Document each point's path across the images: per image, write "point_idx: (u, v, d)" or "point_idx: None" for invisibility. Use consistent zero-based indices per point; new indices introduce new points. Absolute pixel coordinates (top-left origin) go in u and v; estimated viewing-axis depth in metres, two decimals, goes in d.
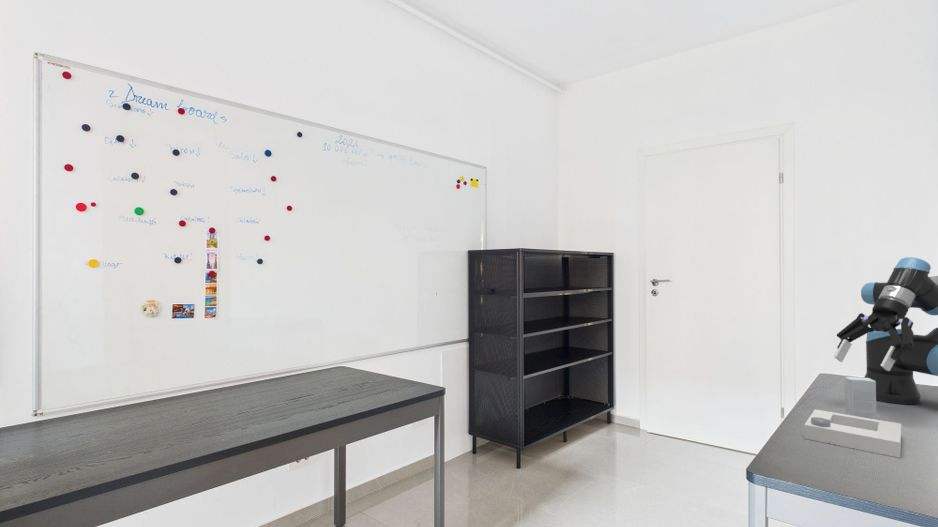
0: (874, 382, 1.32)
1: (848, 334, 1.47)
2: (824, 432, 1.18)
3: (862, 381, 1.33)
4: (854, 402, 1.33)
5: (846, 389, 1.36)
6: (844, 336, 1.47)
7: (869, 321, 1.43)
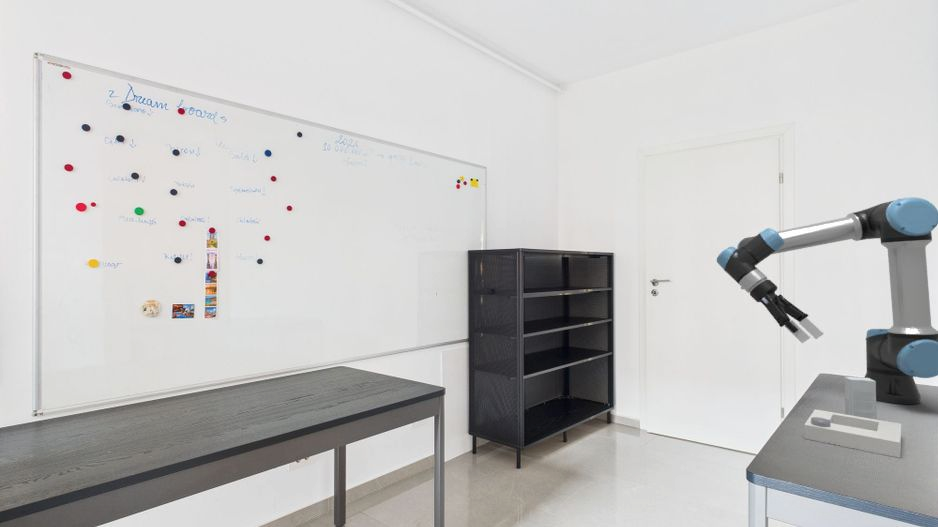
0: (874, 382, 1.32)
1: (794, 317, 1.53)
2: (824, 432, 1.18)
3: (862, 381, 1.33)
4: (854, 402, 1.33)
5: (846, 389, 1.36)
6: (797, 320, 1.53)
7: None
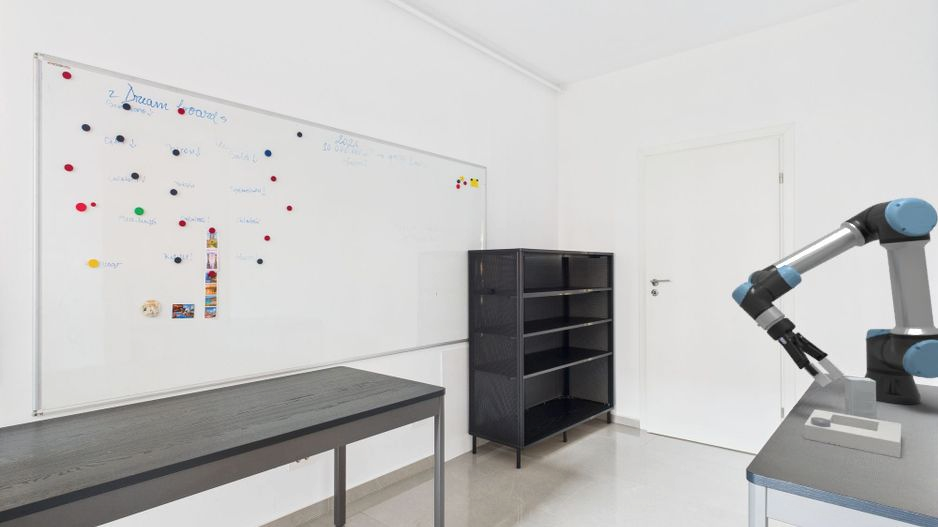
0: (874, 382, 1.32)
1: None
2: (824, 432, 1.18)
3: (862, 381, 1.33)
4: (854, 402, 1.33)
5: (846, 389, 1.36)
6: (816, 359, 1.48)
7: None
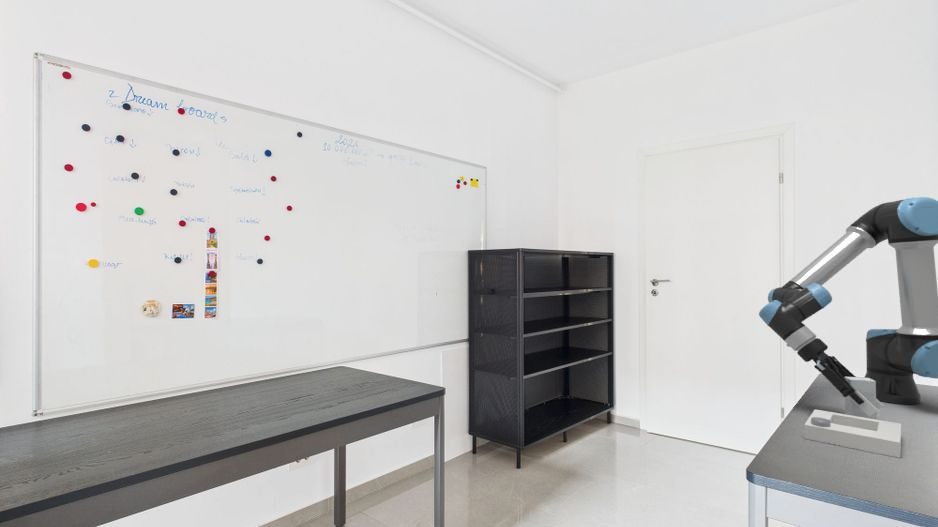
0: (874, 382, 1.32)
1: None
2: (824, 432, 1.18)
3: (862, 381, 1.33)
4: (854, 402, 1.33)
5: None
6: None
7: None
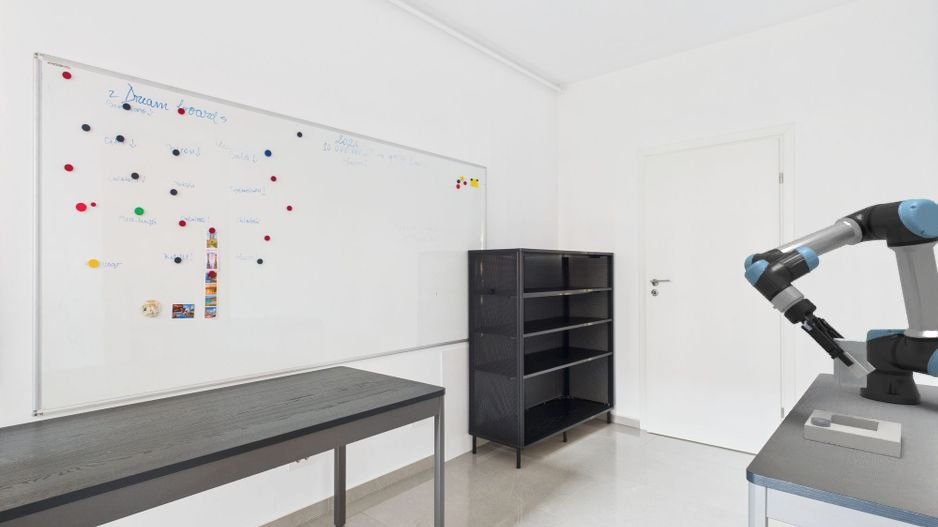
0: (865, 343, 1.22)
1: None
2: (824, 432, 1.18)
3: (852, 342, 1.23)
4: (843, 365, 1.24)
5: None
6: None
7: None
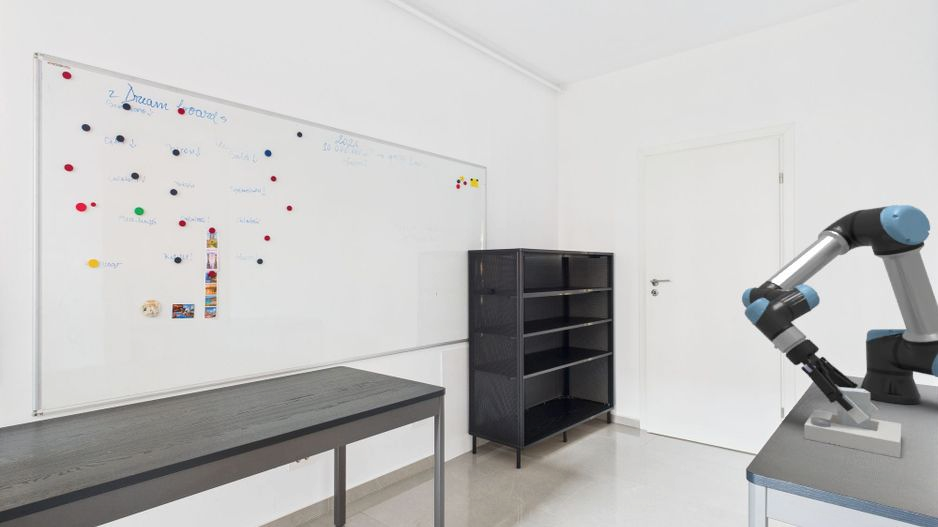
0: (868, 394, 1.20)
1: None
2: (824, 432, 1.18)
3: (855, 392, 1.21)
4: (846, 416, 1.21)
5: None
6: None
7: None
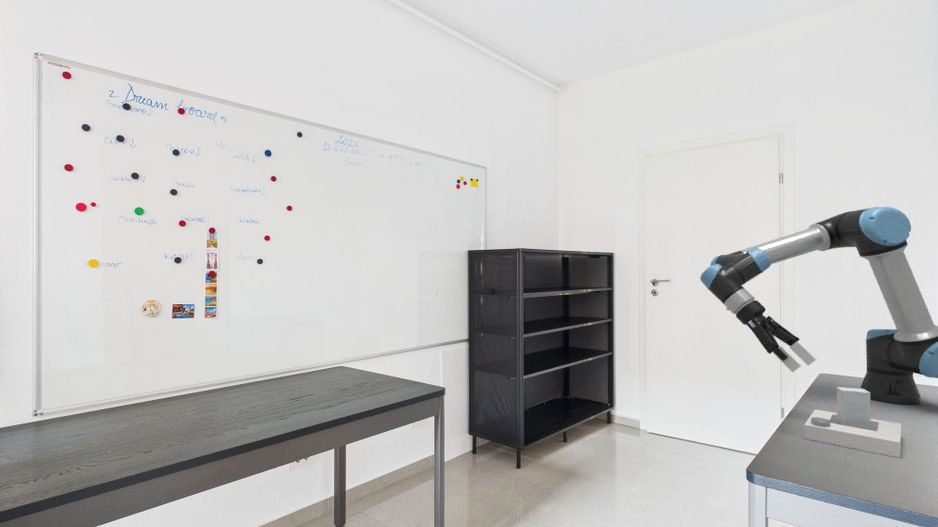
0: (868, 394, 1.20)
1: None
2: (824, 432, 1.18)
3: (855, 392, 1.21)
4: (846, 416, 1.21)
5: (838, 401, 1.24)
6: None
7: None
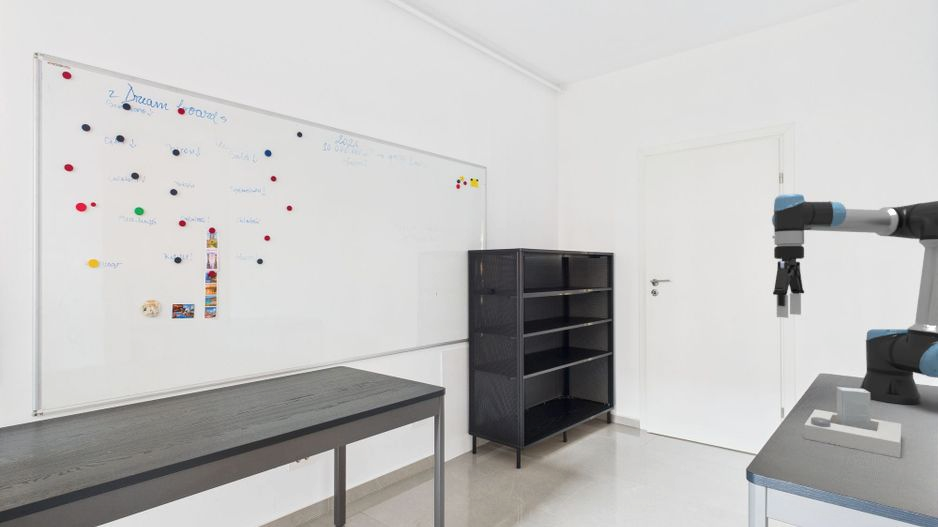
0: (868, 394, 1.20)
1: None
2: (824, 432, 1.18)
3: (855, 392, 1.21)
4: (846, 416, 1.21)
5: (838, 401, 1.24)
6: (791, 290, 1.50)
7: None
